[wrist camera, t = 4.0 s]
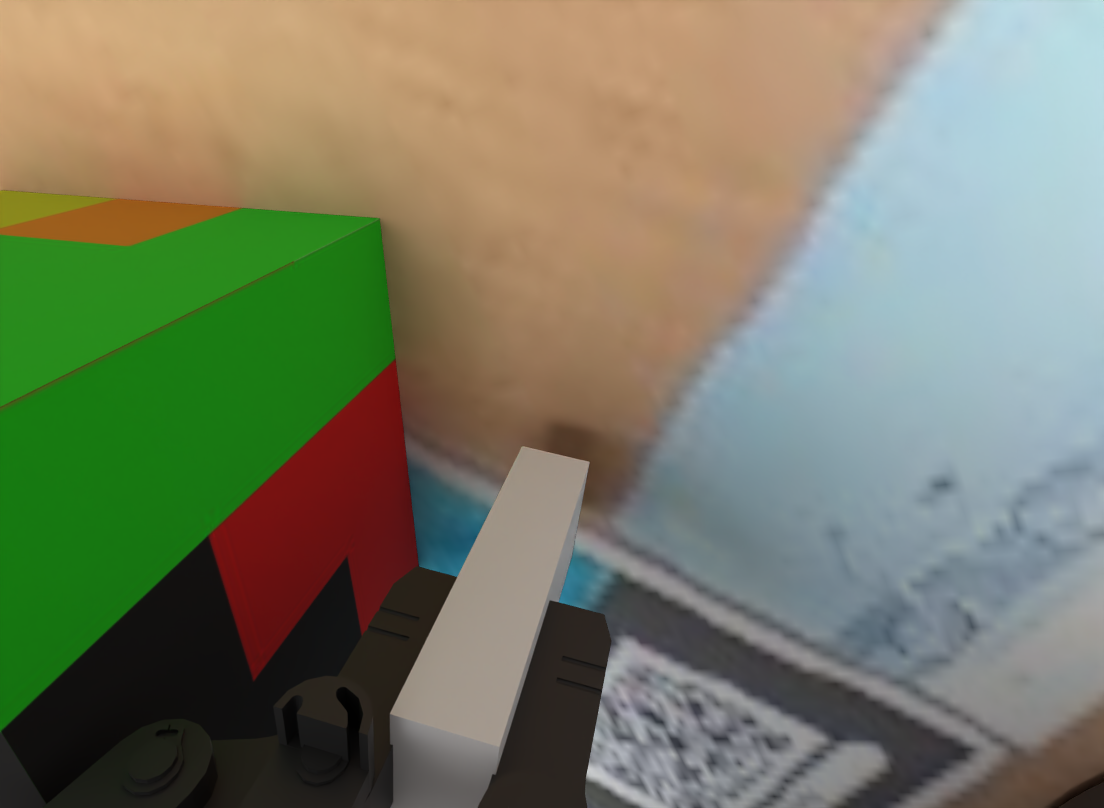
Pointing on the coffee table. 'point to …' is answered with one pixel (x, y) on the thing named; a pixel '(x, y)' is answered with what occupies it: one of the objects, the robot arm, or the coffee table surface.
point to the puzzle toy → (186, 469)
